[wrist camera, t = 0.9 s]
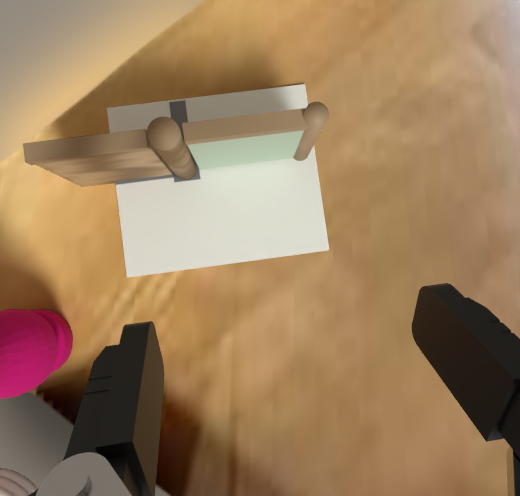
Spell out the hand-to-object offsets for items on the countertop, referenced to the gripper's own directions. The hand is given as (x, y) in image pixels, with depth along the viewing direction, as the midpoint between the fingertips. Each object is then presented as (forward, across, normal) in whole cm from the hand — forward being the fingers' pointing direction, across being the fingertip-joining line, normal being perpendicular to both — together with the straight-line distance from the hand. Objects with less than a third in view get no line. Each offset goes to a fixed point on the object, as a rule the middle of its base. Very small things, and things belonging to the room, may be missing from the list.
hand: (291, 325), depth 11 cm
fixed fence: (+29, +9, +4) cm, 30 cm away
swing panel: (+28, -3, +3) cm, 28 cm away
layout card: (+28, +1, +5) cm, 28 cm away
